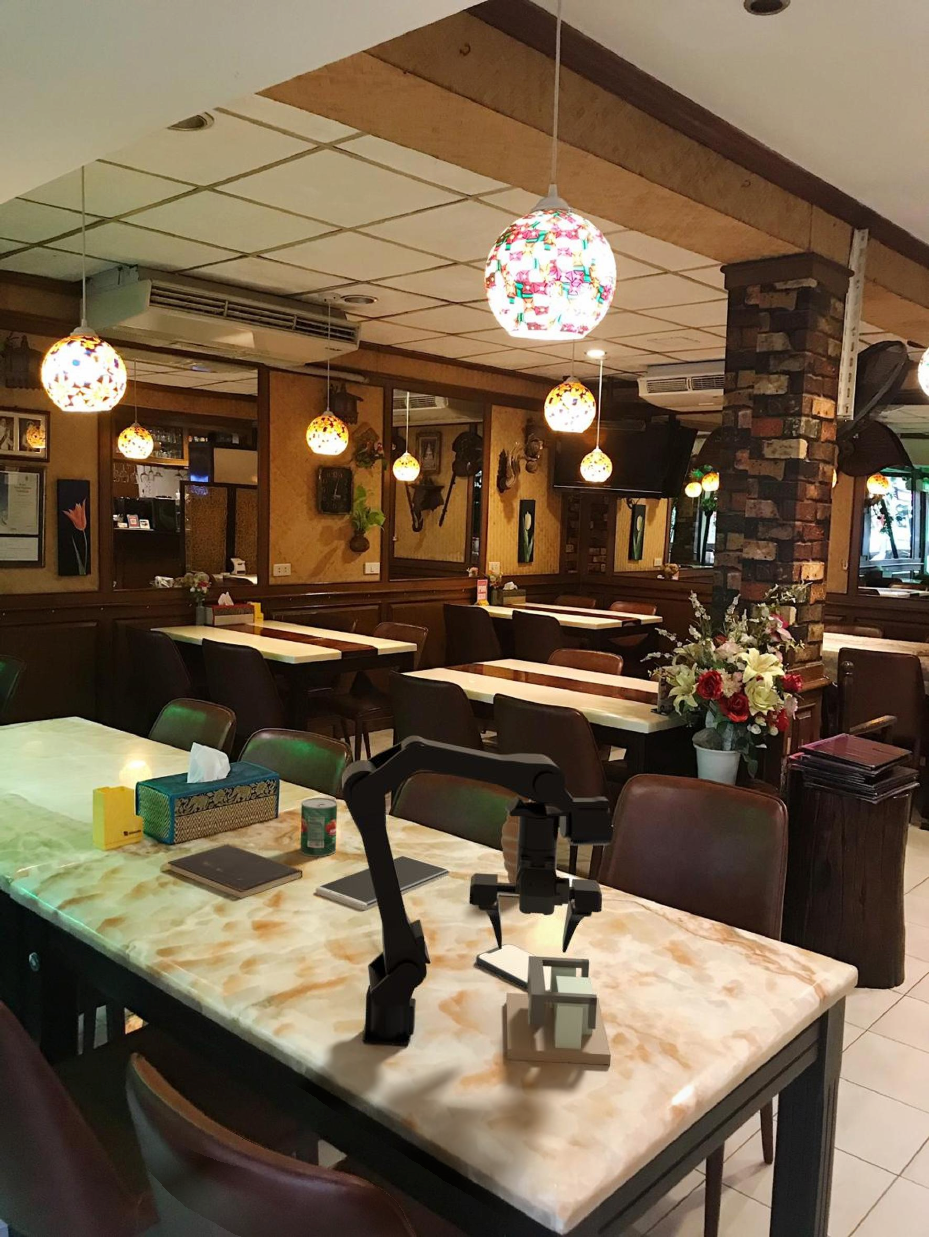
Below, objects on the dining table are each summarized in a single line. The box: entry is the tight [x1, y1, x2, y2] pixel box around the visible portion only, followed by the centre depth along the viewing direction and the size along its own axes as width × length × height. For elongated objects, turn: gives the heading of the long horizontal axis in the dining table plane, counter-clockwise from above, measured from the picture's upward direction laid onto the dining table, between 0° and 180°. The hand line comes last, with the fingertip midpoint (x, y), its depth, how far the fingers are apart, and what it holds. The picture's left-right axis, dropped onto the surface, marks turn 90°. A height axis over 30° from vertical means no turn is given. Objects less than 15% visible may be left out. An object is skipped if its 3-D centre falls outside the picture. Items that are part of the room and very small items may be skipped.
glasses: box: [527, 955, 598, 1029], centre depth 138 cm, size 9×12×4 cm
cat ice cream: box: [500, 799, 532, 884], centre depth 193 cm, size 9×8×18 cm
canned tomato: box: [299, 797, 338, 858], centre depth 211 cm, size 8×8×11 cm
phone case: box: [475, 943, 551, 992], centre depth 157 cm, size 9×2×16 cm
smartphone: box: [315, 855, 451, 911], centre depth 194 cm, size 13×27×2 cm, turn 143°
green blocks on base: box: [505, 967, 612, 1066], centre depth 138 cm, size 14×16×8 cm
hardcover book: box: [167, 843, 303, 899], centre depth 196 cm, size 16×23×2 cm
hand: (532, 949), depth 138 cm, fingers open, 9 cm apart
